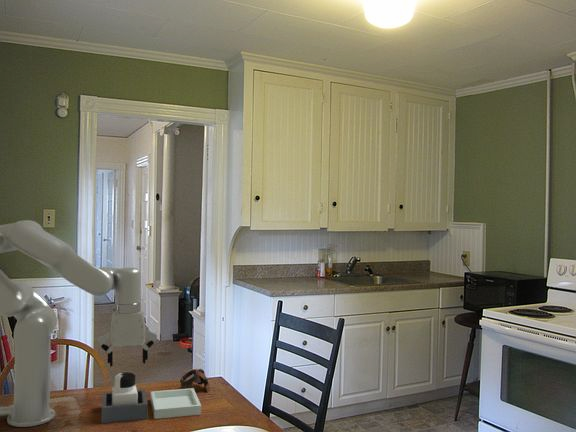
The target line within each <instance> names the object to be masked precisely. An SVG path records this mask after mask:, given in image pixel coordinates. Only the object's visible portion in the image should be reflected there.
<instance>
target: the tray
mask: <svg viewBox="0 0 576 432" xmlns="http://www.w3.org/2000/svg"><path fill="white" fill-rule="evenodd" d="M150 403H151V404H150V405H151V409H152V414H153V419H154V420H157V419H169V418H179V417H181V418H182V417H189V416H200V415H202V404H201V402H200V399H199V397H198V395H197V393H196V391H195V388H194V387H193V388H191V387H189V388H185V389H182V388H180V389H179V388H178V389H167V390H153V391H150Z"/></svg>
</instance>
